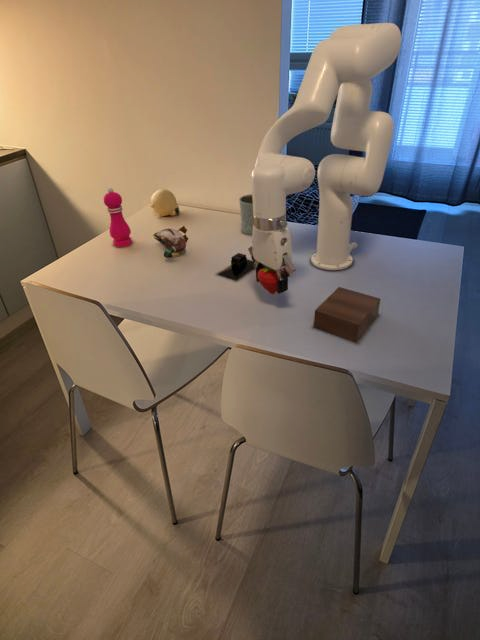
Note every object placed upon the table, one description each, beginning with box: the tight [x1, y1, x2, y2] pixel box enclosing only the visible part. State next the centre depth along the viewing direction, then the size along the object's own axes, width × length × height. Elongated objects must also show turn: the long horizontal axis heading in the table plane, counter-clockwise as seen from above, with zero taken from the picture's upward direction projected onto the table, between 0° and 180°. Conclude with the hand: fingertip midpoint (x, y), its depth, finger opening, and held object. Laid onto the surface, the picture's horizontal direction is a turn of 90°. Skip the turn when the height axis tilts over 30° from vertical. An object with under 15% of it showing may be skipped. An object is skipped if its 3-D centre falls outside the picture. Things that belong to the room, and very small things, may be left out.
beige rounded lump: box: [149, 188, 180, 218], centre depth 167 cm, size 10×12×11 cm
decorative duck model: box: [152, 225, 190, 259], centre depth 137 cm, size 15×8×15 cm
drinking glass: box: [238, 193, 254, 236], centre depth 148 cm, size 10×10×12 cm
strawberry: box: [257, 264, 284, 295], centre depth 105 cm, size 6×8×10 cm
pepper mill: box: [103, 187, 132, 248], centre depth 142 cm, size 7×7×20 cm
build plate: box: [217, 252, 256, 281], centre depth 126 cm, size 12×7×5 cm, turn 143°
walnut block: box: [313, 286, 382, 343], centre depth 100 cm, size 13×11×5 cm
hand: (271, 285), depth 106 cm, fingers closed on strawberry, 7 cm apart
